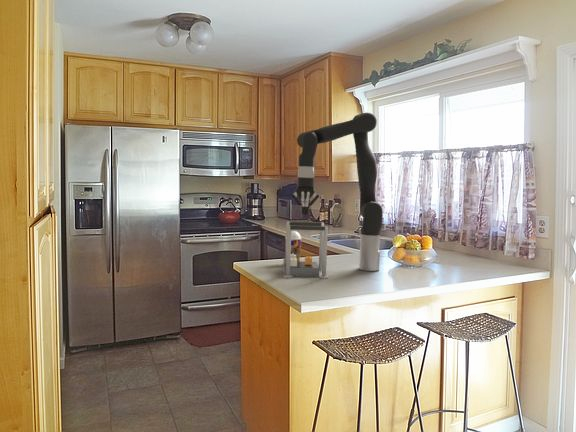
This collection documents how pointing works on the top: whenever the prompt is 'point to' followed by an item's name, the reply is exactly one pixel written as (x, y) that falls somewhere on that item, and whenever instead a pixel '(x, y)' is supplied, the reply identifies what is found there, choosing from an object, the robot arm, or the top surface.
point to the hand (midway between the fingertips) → (304, 214)
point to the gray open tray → (302, 269)
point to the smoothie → (295, 244)
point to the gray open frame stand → (322, 244)
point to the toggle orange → (308, 260)
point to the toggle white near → (293, 262)
